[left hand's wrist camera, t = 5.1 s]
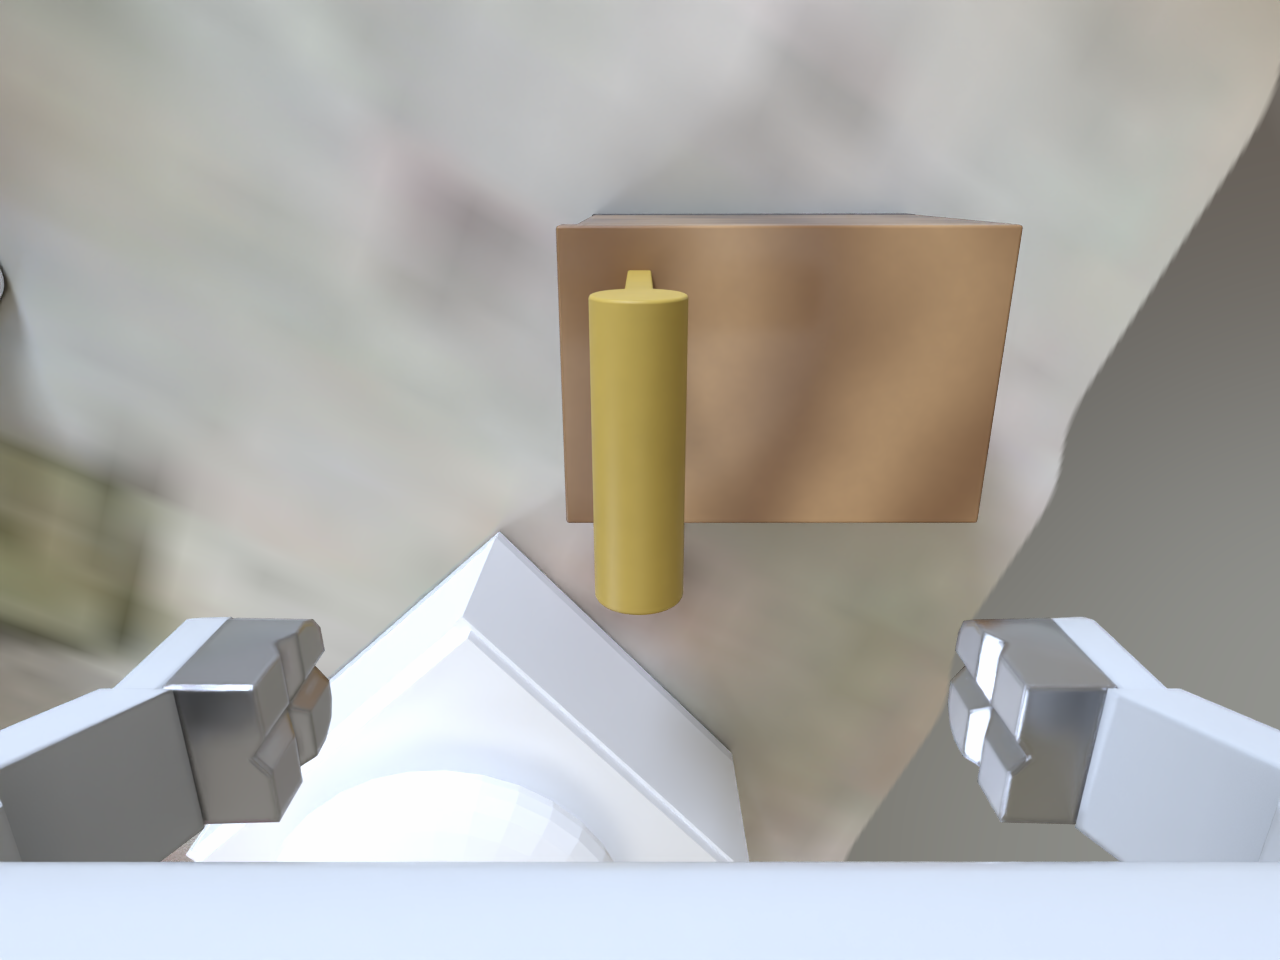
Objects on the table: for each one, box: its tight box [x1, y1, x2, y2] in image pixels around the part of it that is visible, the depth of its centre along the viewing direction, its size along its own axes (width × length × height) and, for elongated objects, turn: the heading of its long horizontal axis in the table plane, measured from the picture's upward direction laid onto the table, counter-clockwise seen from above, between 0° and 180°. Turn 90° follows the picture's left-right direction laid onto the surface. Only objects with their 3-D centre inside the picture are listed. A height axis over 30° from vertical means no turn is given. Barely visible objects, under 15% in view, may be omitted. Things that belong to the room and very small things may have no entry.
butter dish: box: [186, 532, 749, 862], centre depth 35 cm, size 18×18×16 cm
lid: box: [556, 224, 1022, 615], centre depth 22 cm, size 14×9×9 cm
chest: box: [579, 214, 1005, 224], centre depth 30 cm, size 13×9×10 cm
